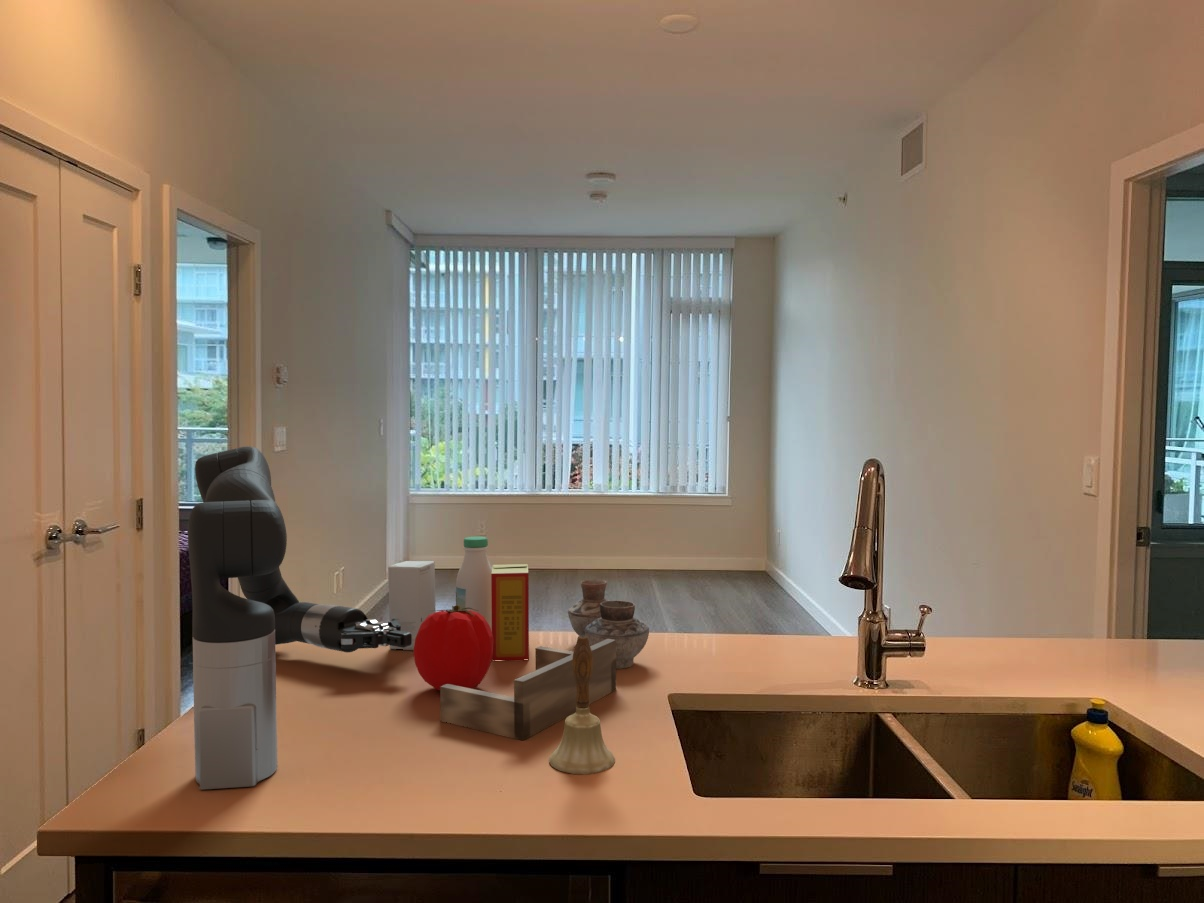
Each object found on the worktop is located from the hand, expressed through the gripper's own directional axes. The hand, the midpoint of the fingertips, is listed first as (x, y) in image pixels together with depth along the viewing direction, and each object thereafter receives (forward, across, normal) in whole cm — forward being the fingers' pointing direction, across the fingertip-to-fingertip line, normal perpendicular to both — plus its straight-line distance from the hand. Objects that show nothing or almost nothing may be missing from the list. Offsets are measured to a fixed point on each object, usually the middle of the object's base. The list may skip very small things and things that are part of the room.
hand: (408, 640), depth 144 cm
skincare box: (-14, +16, +7) cm, 23 cm away
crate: (+24, 0, +6) cm, 25 cm away
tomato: (+10, 0, +7) cm, 12 cm away
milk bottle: (-6, +25, +7) cm, 26 cm away
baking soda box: (+5, +21, +7) cm, 23 cm away
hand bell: (+42, -14, +7) cm, 45 cm away
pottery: (+20, +30, +7) cm, 36 cm away
